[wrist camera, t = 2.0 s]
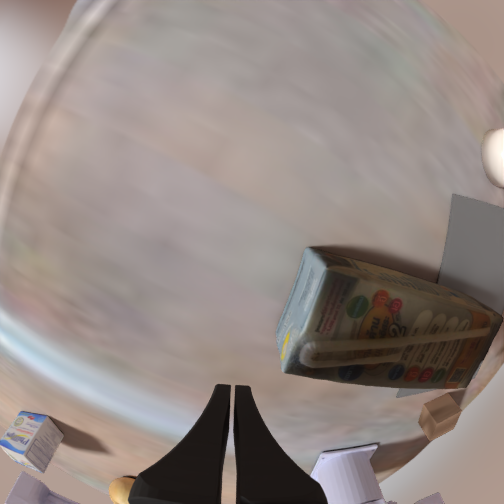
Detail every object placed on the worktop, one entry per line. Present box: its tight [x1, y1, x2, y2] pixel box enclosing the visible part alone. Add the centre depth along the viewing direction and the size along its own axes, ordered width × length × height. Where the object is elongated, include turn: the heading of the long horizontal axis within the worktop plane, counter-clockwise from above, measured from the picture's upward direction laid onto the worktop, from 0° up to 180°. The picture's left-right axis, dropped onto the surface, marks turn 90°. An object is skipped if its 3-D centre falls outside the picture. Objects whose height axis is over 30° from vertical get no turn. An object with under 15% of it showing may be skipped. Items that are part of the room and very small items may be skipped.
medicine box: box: [0, 411, 64, 473], centre depth 22 cm, size 8×4×9 cm, turn 104°
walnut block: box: [418, 393, 462, 441], centre depth 25 cm, size 4×4×4 cm
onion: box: [109, 477, 135, 504], centre depth 27 cm, size 8×8×7 cm
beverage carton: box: [276, 247, 503, 389], centre depth 19 cm, size 8×19×7 cm, turn 74°
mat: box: [396, 194, 504, 398], centre depth 22 cm, size 22×14×1 cm, turn 176°
